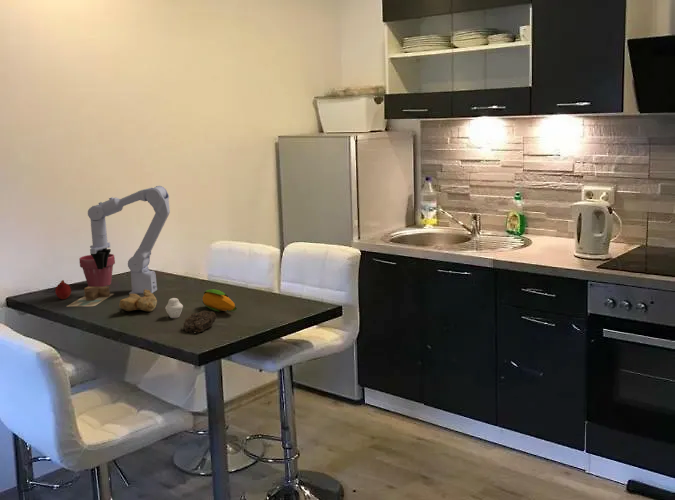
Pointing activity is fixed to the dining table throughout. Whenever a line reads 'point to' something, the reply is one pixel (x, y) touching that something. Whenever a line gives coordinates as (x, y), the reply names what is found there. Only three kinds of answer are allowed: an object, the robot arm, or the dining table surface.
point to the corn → (218, 301)
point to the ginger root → (139, 302)
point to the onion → (63, 290)
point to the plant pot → (97, 271)
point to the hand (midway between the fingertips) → (102, 268)
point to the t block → (96, 292)
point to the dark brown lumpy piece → (199, 321)
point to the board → (83, 301)
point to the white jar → (174, 308)
